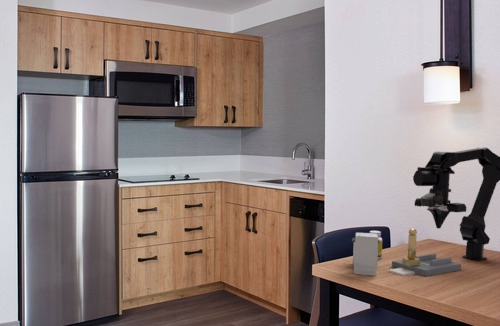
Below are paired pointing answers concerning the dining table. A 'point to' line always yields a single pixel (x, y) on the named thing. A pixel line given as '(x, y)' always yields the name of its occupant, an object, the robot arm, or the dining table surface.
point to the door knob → (411, 250)
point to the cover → (401, 271)
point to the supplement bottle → (379, 243)
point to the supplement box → (365, 254)
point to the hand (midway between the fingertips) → (438, 228)
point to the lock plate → (430, 265)
